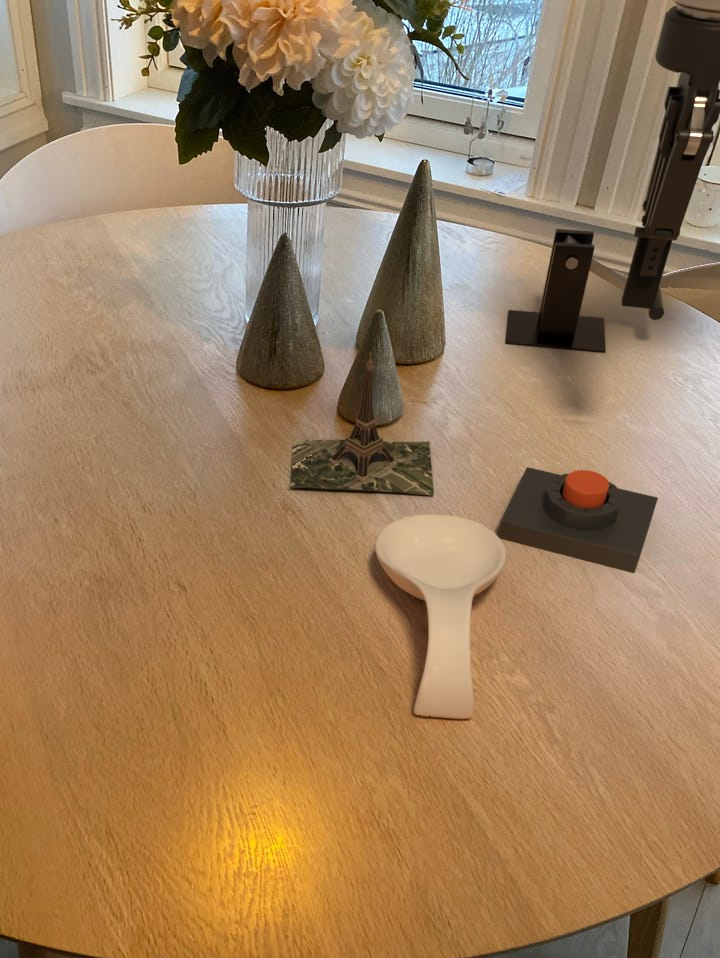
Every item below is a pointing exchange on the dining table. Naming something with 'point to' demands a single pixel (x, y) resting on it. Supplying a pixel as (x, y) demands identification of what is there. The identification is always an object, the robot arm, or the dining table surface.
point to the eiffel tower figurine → (363, 458)
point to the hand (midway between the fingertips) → (637, 303)
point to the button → (585, 489)
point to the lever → (621, 282)
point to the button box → (578, 522)
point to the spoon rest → (443, 597)
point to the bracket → (561, 302)
